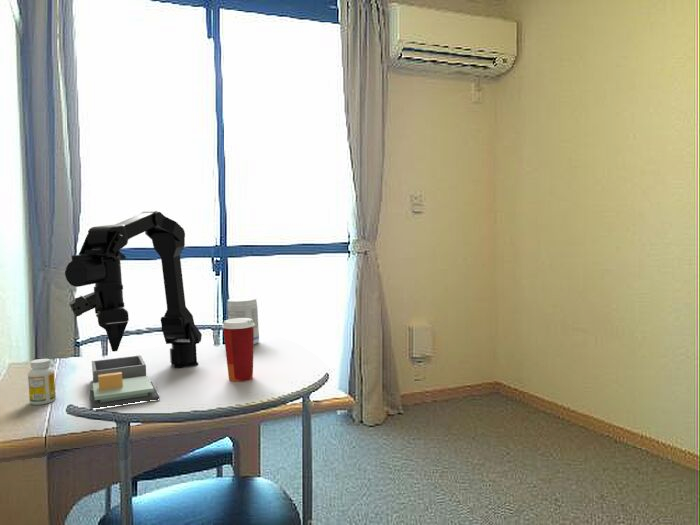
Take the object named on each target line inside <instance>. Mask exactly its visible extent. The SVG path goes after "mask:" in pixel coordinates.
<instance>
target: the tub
mask: <svg viewBox="0 0 700 525" xmlns="http://www.w3.org/2000/svg"><path fill="white" fill-rule="evenodd" d="M91 368H92V369H91V371H92V372H91V373H92V384H93V383H97V382H99V381H98V375H102V374H109V373H117V372H122V379H126V378H134V377H141V376H147V364H146V363H145V361H144V359H143V357H142V355H132V356H124V357H116V358H107V359H97V360H91Z"/></svg>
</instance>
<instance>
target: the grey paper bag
mask: <svg viewBox="0 0 700 525" xmlns="http://www.w3.org/2000/svg"><path fill="white" fill-rule="evenodd" d="M258 316H259V315H258V302H257V298H256V297H253V296H252V297H251V296H243V297H242V296H240V297H234V298H233V297H232V298H229V299H227V320H228V319H234V318H250V319H252V320H253V323H254V324H255V326H254V338H253V346H254V345H257V344H258V343H259V342H260V334H259V333H260V332H259V317H258Z"/></svg>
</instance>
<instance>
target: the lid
mask: <svg viewBox="0 0 700 525" xmlns="http://www.w3.org/2000/svg"><path fill="white" fill-rule="evenodd" d="M148 376H149V375H146V376H141V377H134V378H126V379H122V372H117V373H109V374H102V375H98V381H99V382H97V383H93V382H92V390H93V392H94V399H95V400H100V402H107V401H114V400H121V399H127V398H134V397H141V396H148V392H154V388H153V386H152V384H151V380H150V377H148Z"/></svg>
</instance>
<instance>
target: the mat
mask: <svg viewBox="0 0 700 525" xmlns="http://www.w3.org/2000/svg"><path fill="white" fill-rule="evenodd" d="M150 382H151V384H152V386H153V388H154V392H148V396H141V397H134V398H127V399H121V400H114V401H107V402H100V400H95V399H94V392H93V389H89V392H90V394H89V395H90V402H91V409H92V408H100V407H107V406H115V405H123V404H128V403H135V402H140V401H150V400H158V399H159V400H160V395H159V394H158V391H157V390H156V387H155V385H154V384H153V382H152V381H151V380H150Z"/></svg>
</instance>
